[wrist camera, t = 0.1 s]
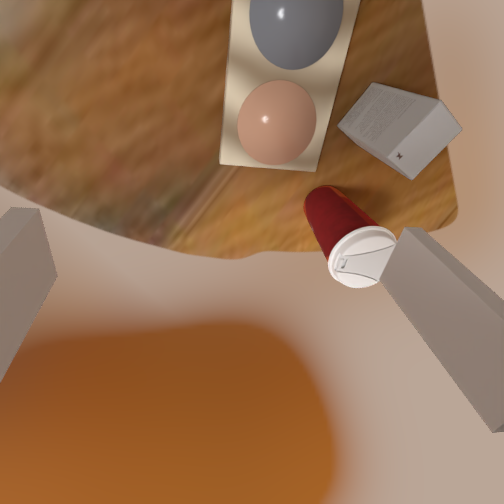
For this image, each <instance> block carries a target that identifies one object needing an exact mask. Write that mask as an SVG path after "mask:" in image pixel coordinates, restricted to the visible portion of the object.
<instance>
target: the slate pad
mask: <svg viewBox="0 0 504 504" xmlns="http://www.w3.org/2000/svg"><path fill="white" fill-rule="evenodd" d="M342 16H343V0H251V1H250V9H249V20H250V28H251V32H252V36H253V39H254V41H255V44H256V45H257V47H258V49H259V51H260V52H261V53H262V55H263V56H264V57H265V58H266V59H267V60H268V61H269V62H271V63H272V64H274V65H276V66H278V67H280V68H283V69H287V70H298V69H303V68H306V67H308V66H310V65H312V64H314V63H315V62H317V61H318V60H319V59H321V58H322V57H323V56H324V55H325V54H326V52H327V51H328V50H329V49H330V47H331V46H332V44H333V42H334V40H335V38H336V36H337V34H338V31H339V28H340V25H341V21H342Z"/></svg>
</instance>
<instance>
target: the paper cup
mask: <svg viewBox="0 0 504 504" xmlns="http://www.w3.org/2000/svg"><path fill="white" fill-rule="evenodd" d="M304 212H305V215H306V217H307V220H308V222H309V224H310V226H311V228H312V230H313V232H314V234H315V236H316V239H317V241H318V243H319V245H320V247H321V249H322V251H323V253H324V255H325V257H326V259H327V261H328V268H329V272H330V274H331V275H332V276H333V278H334V279H336V280H337V281H339V282H341V283H342V284H344V285H346V286H348V287H352V288H363V287H368V286H371V285H373V284H376V283H378V282H379V281H380V280H379V278H380V276H381V274H382V272H383V270H384V268H385V266H386V264H387V262H388V260H389V258H390V256H391V254H392V252H393V250H394V248H395V246H396V244H397V241H396V238H395V236H394V235H393V233H392V232H391V231H389V230H388V229H386V228H384V227H380V226H379V225H378V224H377V223H376V222H375V221H374V220H372V219H371V218H370V217H369V216H368V215H367V214H366V213H364V212H363V211H362V210H361V209H360V208H359V207H358V206H357V205H355V204H354V203H353V202H352V201H351V200H350V199H348V198H347V197H346V196H345V195H344V194H343V193H341V192H340V191H339V190H338V189H336V188H334V187H332V186H320V187H318V188H316V189H314V190H313V191H311V192H310V193H309V194H308V196H307V197H306V199H305V202H304Z"/></svg>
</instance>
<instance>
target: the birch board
mask: <svg viewBox="0 0 504 504" xmlns="http://www.w3.org/2000/svg"><path fill="white" fill-rule="evenodd" d="M250 1H251V0H232V7H231V19H230V31H229V44H228V56H227V69H226V81H225V93H224V106H223V118H222V131H221V143H220V155H219V161H220V164H225V165H237V166H249V167H261V168H273V169H285V170H298V171H310V172H316V168H317V164H318V160H319V157H320V153H321V149H322V145H323V141H324V138H325V134H326V130H327V126H328V122H329V119H330V115H331V111H332V107H333V103H334V99H335V96H336V92H337V88H338V84H339V80H340V77H341V73H342V69H343V65H344V61H345V58H346V54H347V50H348V46H349V42H350V39H351V35H352V31H353V27H354V23H355V19H356V16H357V12H358V8H359V4H360V0H343V16H342V21H341V25H340V28H339V31H338V34H337V36H336V38H335V40H334V42H333V44H332V46H331V47H330V49H329V50H328V51H327V52H326V54H325V55H324V56H323V57H322V58H321V59H319V60H318V61H317V62H315V63H314V64H312V65H310V66H308V67H306V68H303V69H298V70H287V69H283V68H280V67H278V66H276V65H274V64H272V63H271V62H269V61H268V60H267V59H266V58H265V57H264V56H263V55H262V53H261V52H260V51H259V49H258V47H257V45H256V44H255V41H254V39H253V36H252V32H251V28H250V20H249V9H250ZM273 80H286V81H290V82H293V83H295V84H297V85H299V86H300V87H302V88H303V89H304V90H305V91H306V92H307V93H308V94H309V96H310V97H311V99H312V101H313V103H314V106H315V110H316V128H315V132H314V135H313V138H312V140H311V142H310V144H309V145H308V147H307V148H306V149H305V150H304V151H303V153H302V154H300V155H299V156H298V157H297V158H295V159H294V160H292V161H290V162H287V163H285V164H280V165H267V164H263V163H260V162H258V161H256V160H255V159H253V158H252V157H251V156H249V155H248V153H247V152H246V151H245V150H244V148H243V146H242V144H241V142H240V139H239V136H238V130H237V120H238V115H239V111H240V108H241V106H242V104H243V102H244V101H245V99H246V98H247V96H248V95H249V94H250V93H251V92H252V91H253V90H254V89H255V88H257V87H258V86H260V85H262V84H263V83H266V82H269V81H273Z"/></svg>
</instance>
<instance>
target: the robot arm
mask: <svg viewBox="0 0 504 504" xmlns="http://www.w3.org/2000/svg"><path fill="white" fill-rule="evenodd" d="M56 278H57V272H56V269H55V265H54V261H53V258H52V254H51V251H50V247H49V243H48V240H47V236H46V232H45V228H44V225H43V221H42V218H41V214H40V210H39V209H36V208H16V207H11V208H10V209H9V210H8V211H7V212H6V213H5V214H4V215H3V216H2V217H1V218H0V382H1V380H2V378H3V377H4V375H5V373H6V371H7V369H8V367H9V365H10V364H11V361H12V360H13V358H14V356H15V354H16V352H17V351H18V349H19V347H20V345H21V343H22V341H23V339H24V338H25V336H26V334H27V332H28V330H29V328H30V326H31V324H32V323H33V321H34V319H35V317H36V315H37V313H38V311H39V310H40V308H41V306H42V304H43V302H44V300H45V299H46V297H47V295H48V293H49V291H50V289H51V287H52V285H53V284H54V282H55V280H56ZM379 280H380V281H381V282H382V284H383V285H384V287H385V288H386V289H387V291H388V292H389V293H390V295H391V296H392V297H393V299H394V300H395V302H396V303H397V304H398V306H399V307H400V308H401V310H402V311H403V312H404V314H405V315H406V316H407V318H408V319H409V321H410V322H411V323H412V325H413V326H414V327H415V329H416V330H417V331H418V333H419V334H420V335H421V337H422V338H423V339H424V341H425V342H426V343H427V345H428V346H429V348H430V349H431V350H432V352H433V353H434V354H435V356H436V357H437V358H438V360H439V361H440V362H441V364H442V365H443V367H444V368H445V369H446V371H447V372H448V373H449V375H450V376H451V377H452V379H453V380H454V381H455V383H456V384H457V385H458V387H459V388H460V390H461V391H462V392H463V393H464V395H465V396H466V398H467V399H468V400H469V402H470V403H471V404H472V406H473V407H474V409H475V410H476V411H477V412H478V414H479V415H480V417H481V418H482V419H483V421H484V422H485V423H486V425H487V426H488V427H489V429H490V430H491V431H492V433H496V432H504V300H502V299H501V298H500V297H499V296H498V295H497V294H496V293H495V292H493V291H492V290H491V289H490V288H489V287H488V286H487V285H485V284H484V283H483V282H482V281H481V280H480V279H479V278H478V277H476V276H475V275H474V274H473V273H472V272H471V271H470V270H468V269H467V268H466V267H465V266H464V265H463V264H462V263H460V262H459V261H458V260H457V259H456V258H455V257H454V256H453V255H451V254H450V253H449V252H448V251H447V250H446V249H445V248H444V247H442V246H441V245H440V244H439V243H438V242H436V240H434V239H433V238H432V237H431V236H430V235H429V234H428V233H426V232H425V231H424V230H423V229H422V228H416V227H404V229H403V231H402V233H401V235H400V237H399V240H398V242H397V244H396V246H395V248H394V250H393V252H392V254H391V256H390V258H389V260H388V262H387V264H386V266H385V268H384V270H383V272H382V274H381V276H380V278H379Z"/></svg>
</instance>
